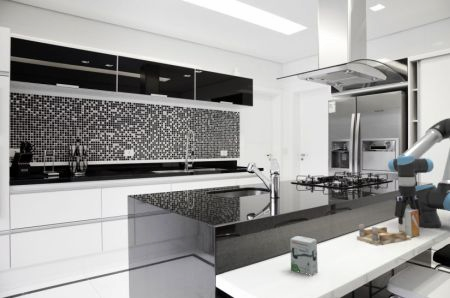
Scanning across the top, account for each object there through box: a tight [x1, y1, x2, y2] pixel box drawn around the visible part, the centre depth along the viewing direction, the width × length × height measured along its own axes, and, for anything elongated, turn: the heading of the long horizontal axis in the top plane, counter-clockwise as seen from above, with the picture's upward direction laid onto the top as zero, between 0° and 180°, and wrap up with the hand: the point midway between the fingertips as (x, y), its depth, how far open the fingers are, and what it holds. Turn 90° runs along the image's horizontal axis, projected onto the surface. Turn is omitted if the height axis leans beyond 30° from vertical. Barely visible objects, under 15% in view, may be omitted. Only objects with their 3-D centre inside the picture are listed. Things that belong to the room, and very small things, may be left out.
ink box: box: [289, 235, 319, 276], centre depth 113 cm, size 9×5×12 cm, turn 45°
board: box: [356, 223, 412, 246], centre depth 152 cm, size 22×12×8 cm, turn 111°
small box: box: [398, 207, 420, 238], centre depth 158 cm, size 8×6×13 cm
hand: (409, 229), depth 158 cm, fingers closed on small box, 9 cm apart
